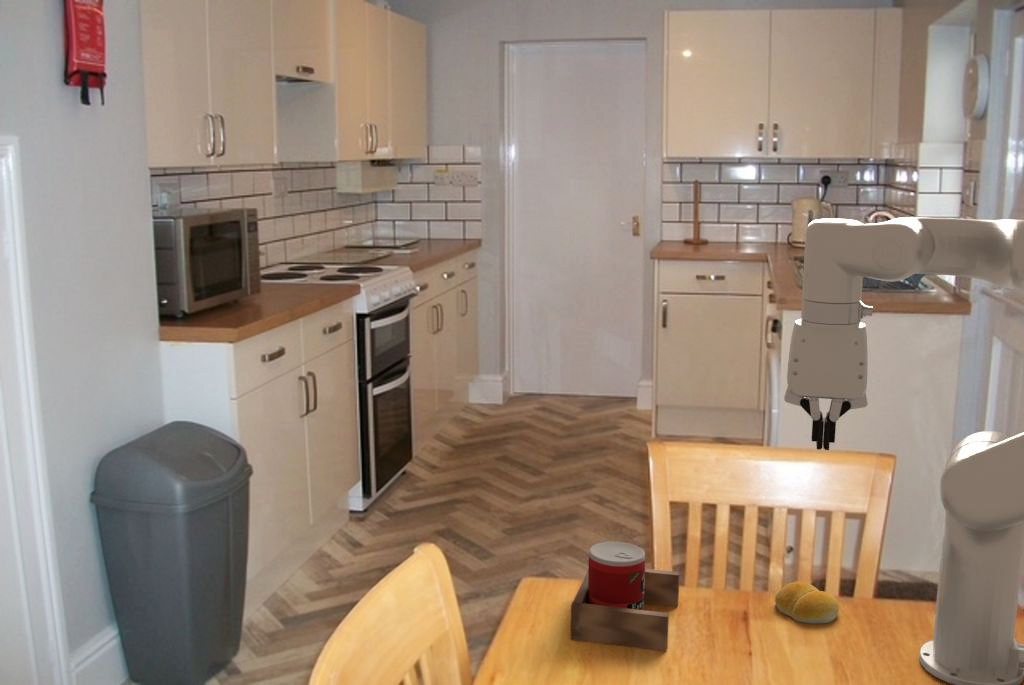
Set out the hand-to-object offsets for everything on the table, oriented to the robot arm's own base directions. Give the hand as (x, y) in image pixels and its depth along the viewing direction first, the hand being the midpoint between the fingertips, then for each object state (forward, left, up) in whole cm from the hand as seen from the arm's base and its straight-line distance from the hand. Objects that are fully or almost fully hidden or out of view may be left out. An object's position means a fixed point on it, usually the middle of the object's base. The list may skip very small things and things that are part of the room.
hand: (822, 446), depth 143 cm
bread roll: (+1, -7, -28) cm, 29 cm away
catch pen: (+25, +3, -27) cm, 37 cm away
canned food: (+27, +4, -27) cm, 39 cm away
